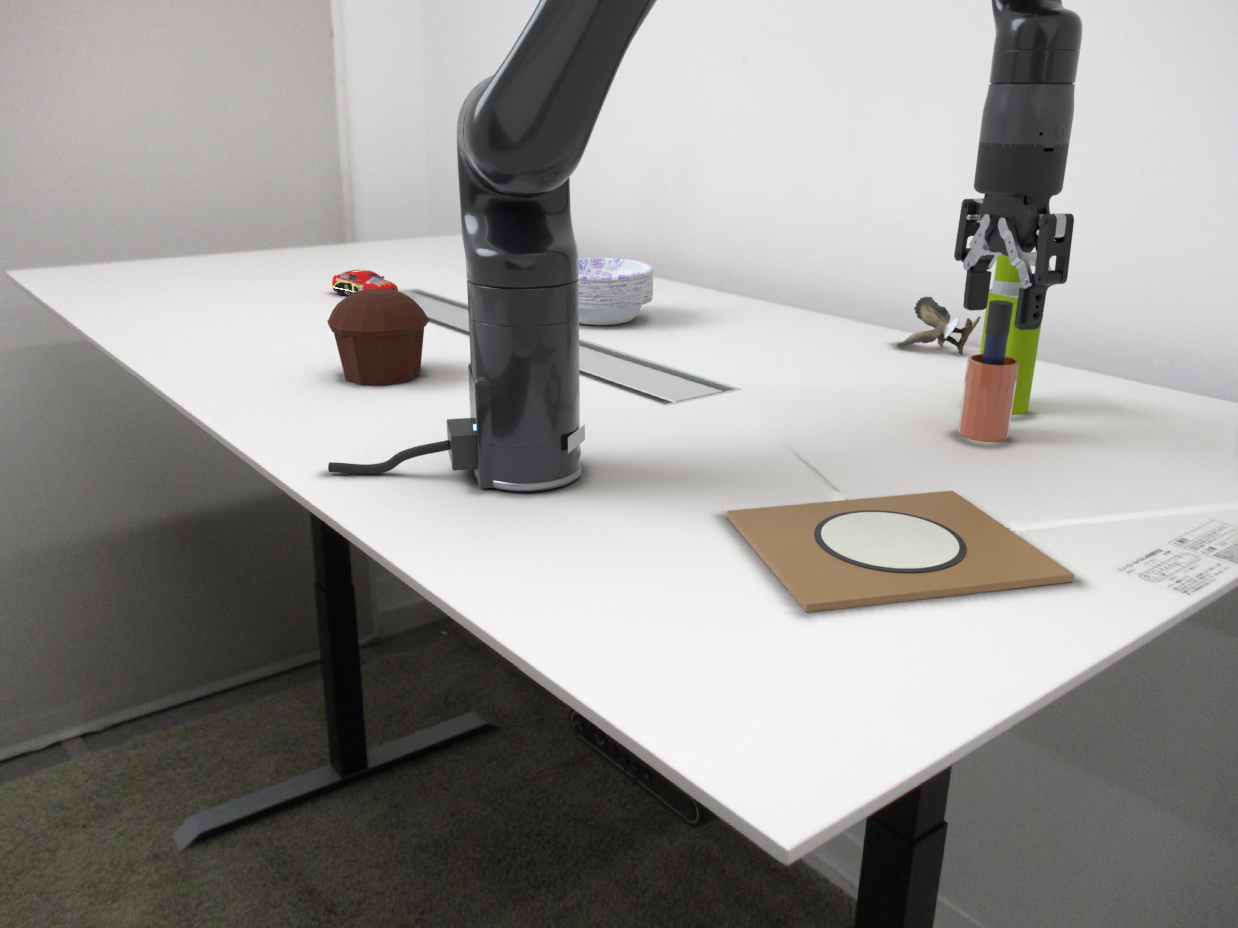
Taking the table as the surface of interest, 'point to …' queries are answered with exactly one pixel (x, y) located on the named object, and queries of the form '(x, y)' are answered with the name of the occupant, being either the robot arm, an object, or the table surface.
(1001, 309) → the marker
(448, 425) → the robot arm
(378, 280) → the race car
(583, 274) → the paper bowls
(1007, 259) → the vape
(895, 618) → the table surface
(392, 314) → the muffin
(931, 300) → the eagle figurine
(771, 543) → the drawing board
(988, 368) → the pen pot
